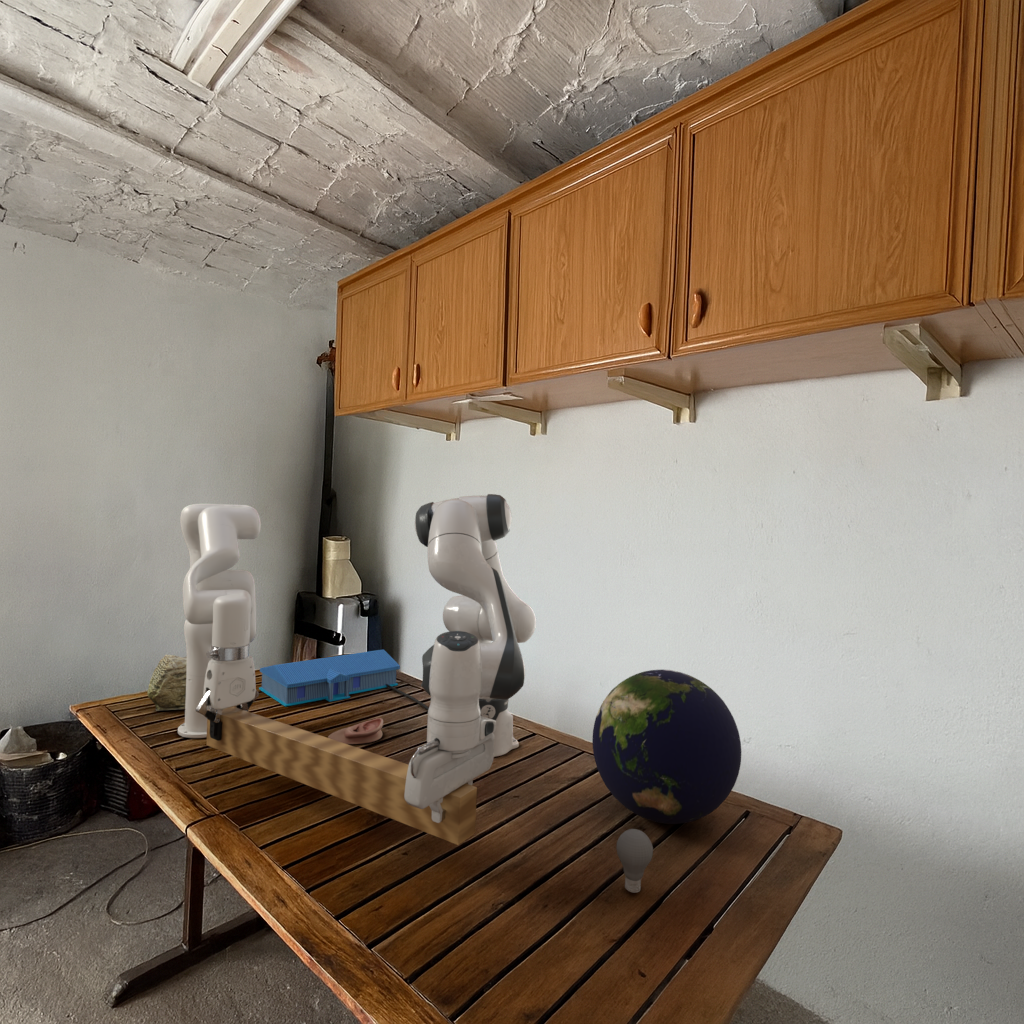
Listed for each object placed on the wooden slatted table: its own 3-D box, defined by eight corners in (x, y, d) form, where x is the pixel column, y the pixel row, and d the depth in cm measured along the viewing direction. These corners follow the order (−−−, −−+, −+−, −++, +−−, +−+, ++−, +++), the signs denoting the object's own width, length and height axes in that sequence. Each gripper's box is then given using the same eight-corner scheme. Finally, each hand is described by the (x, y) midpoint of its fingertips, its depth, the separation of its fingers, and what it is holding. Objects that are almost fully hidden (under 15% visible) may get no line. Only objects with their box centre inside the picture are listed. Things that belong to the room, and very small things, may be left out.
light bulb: (610, 879, 108) (613, 822, 108) (644, 879, 109) (647, 822, 109) (619, 902, 102) (622, 840, 102) (655, 901, 103) (658, 840, 103)
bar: (206, 745, 139) (207, 709, 139) (226, 738, 143) (227, 704, 143) (458, 845, 102) (460, 797, 102) (475, 833, 106) (477, 787, 106)
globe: (571, 831, 124) (578, 679, 123) (607, 773, 151) (613, 648, 151) (733, 872, 112) (742, 704, 112) (740, 800, 140) (747, 665, 139)
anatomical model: (322, 726, 163) (343, 712, 174) (321, 741, 163) (342, 726, 174) (370, 732, 160) (388, 717, 171) (370, 747, 160) (388, 732, 171)
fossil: (144, 707, 182) (145, 655, 182) (212, 696, 194) (213, 647, 194) (151, 716, 175) (153, 662, 175) (221, 703, 188) (223, 653, 188)
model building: (289, 709, 186) (291, 675, 185) (258, 688, 204) (259, 657, 204) (403, 687, 212) (405, 657, 212) (366, 670, 230) (368, 643, 230)
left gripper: (204, 663, 129) (200, 751, 129) (274, 648, 143) (271, 728, 144) (183, 656, 133) (179, 742, 133) (253, 642, 147) (250, 720, 148)
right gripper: (428, 755, 95) (424, 846, 96) (501, 719, 113) (498, 796, 113) (397, 745, 99) (393, 833, 99) (473, 711, 116) (469, 786, 116)
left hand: (227, 734), depth 139 cm, fingers closed on bar, 4 cm apart
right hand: (449, 813), depth 106 cm, fingers closed on bar, 5 cm apart
